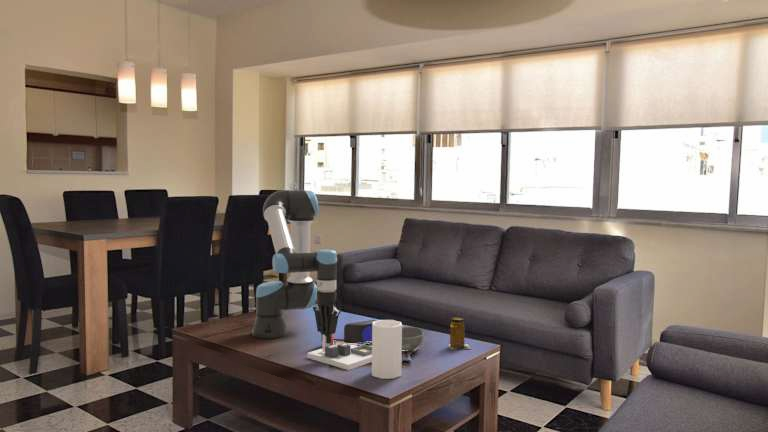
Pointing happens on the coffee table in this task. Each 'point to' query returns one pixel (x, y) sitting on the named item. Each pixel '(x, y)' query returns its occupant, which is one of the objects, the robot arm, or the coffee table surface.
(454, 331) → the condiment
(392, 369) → the white canister
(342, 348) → the breaker
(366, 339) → the leaning round-cornered charcoal block
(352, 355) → the panel
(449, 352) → the coffee table surface
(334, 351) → the breaker
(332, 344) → the cap
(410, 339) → the bowl
